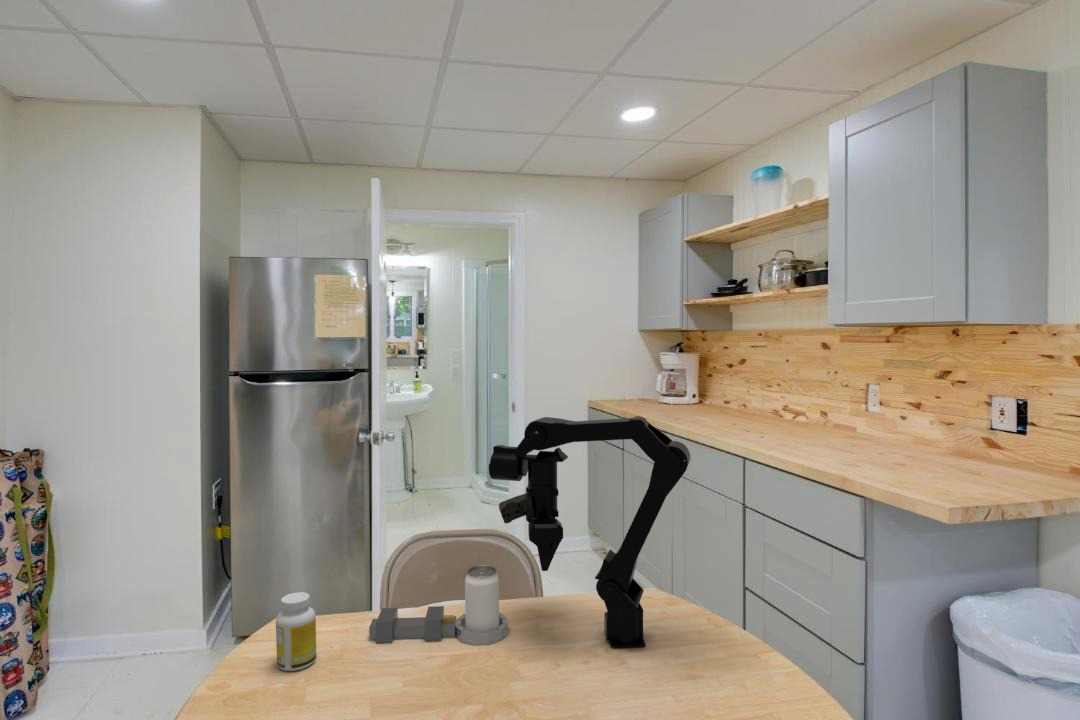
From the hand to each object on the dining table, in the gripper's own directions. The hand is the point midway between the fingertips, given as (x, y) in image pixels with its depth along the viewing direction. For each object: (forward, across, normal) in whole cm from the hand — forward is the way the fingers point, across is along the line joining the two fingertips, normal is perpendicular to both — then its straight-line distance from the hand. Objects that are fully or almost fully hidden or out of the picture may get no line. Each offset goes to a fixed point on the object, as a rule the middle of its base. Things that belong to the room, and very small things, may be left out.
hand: (542, 561), depth 119 cm
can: (+13, +1, -12) cm, 18 cm away
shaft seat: (+13, +1, -20) cm, 24 cm away
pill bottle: (+13, +10, -44) cm, 47 cm away
